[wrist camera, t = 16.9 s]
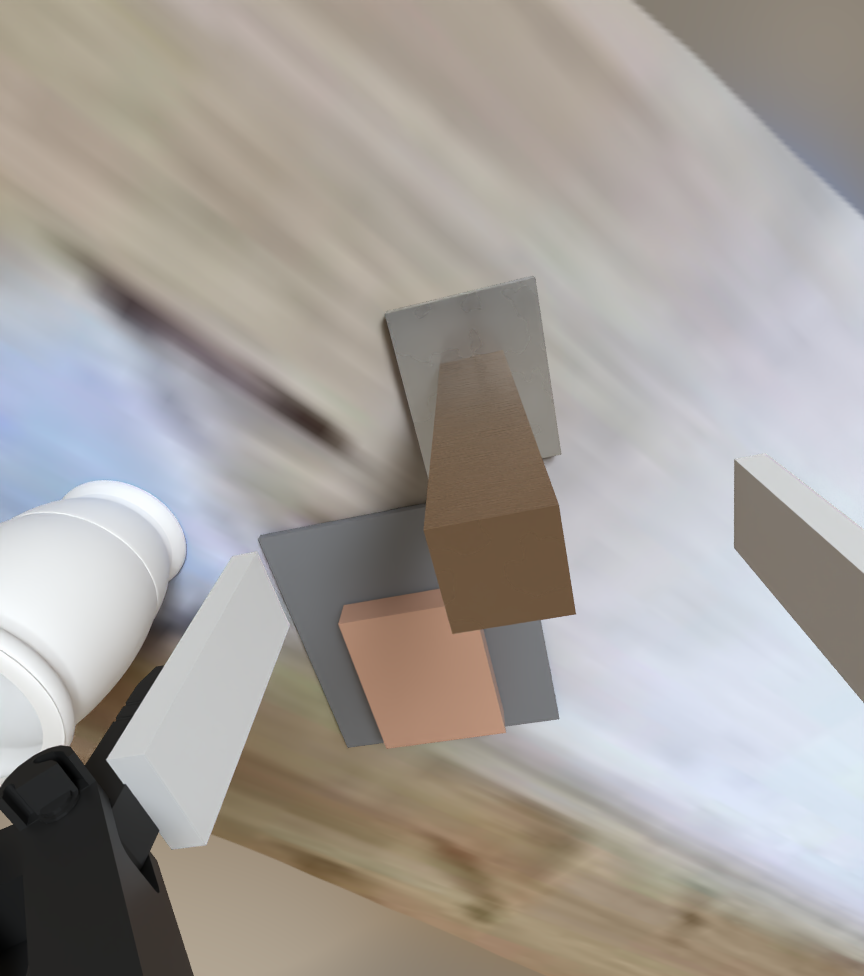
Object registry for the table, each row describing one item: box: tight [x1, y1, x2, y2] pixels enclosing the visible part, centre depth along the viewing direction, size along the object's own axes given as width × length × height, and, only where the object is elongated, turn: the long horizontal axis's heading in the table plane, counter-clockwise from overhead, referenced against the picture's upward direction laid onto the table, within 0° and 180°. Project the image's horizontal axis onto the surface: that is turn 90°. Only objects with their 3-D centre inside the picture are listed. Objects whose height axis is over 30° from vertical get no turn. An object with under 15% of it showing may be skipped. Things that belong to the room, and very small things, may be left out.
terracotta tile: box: [338, 589, 506, 749], centre depth 40 cm, size 2×9×12 cm
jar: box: [0, 480, 186, 787], centre depth 31 cm, size 11×10×15 cm
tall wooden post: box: [385, 276, 576, 634], centre depth 23 cm, size 10×8×19 cm
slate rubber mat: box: [258, 503, 559, 748], centre depth 40 cm, size 20×17×1 cm
